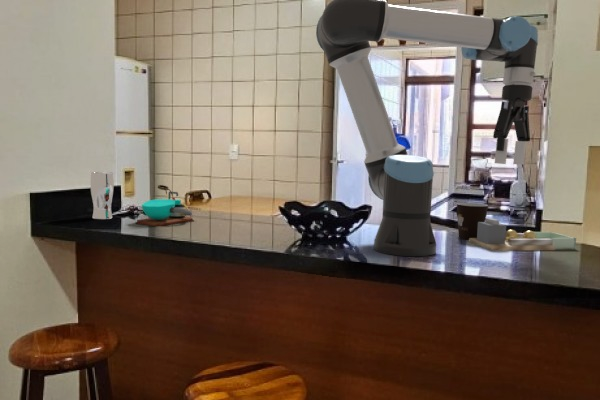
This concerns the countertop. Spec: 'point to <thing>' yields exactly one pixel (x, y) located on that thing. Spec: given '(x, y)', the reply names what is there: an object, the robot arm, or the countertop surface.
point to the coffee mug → (470, 219)
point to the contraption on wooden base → (165, 211)
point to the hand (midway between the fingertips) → (509, 164)
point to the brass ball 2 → (529, 235)
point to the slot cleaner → (491, 232)
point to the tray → (558, 240)
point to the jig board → (518, 244)
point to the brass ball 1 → (511, 234)
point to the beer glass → (102, 194)
